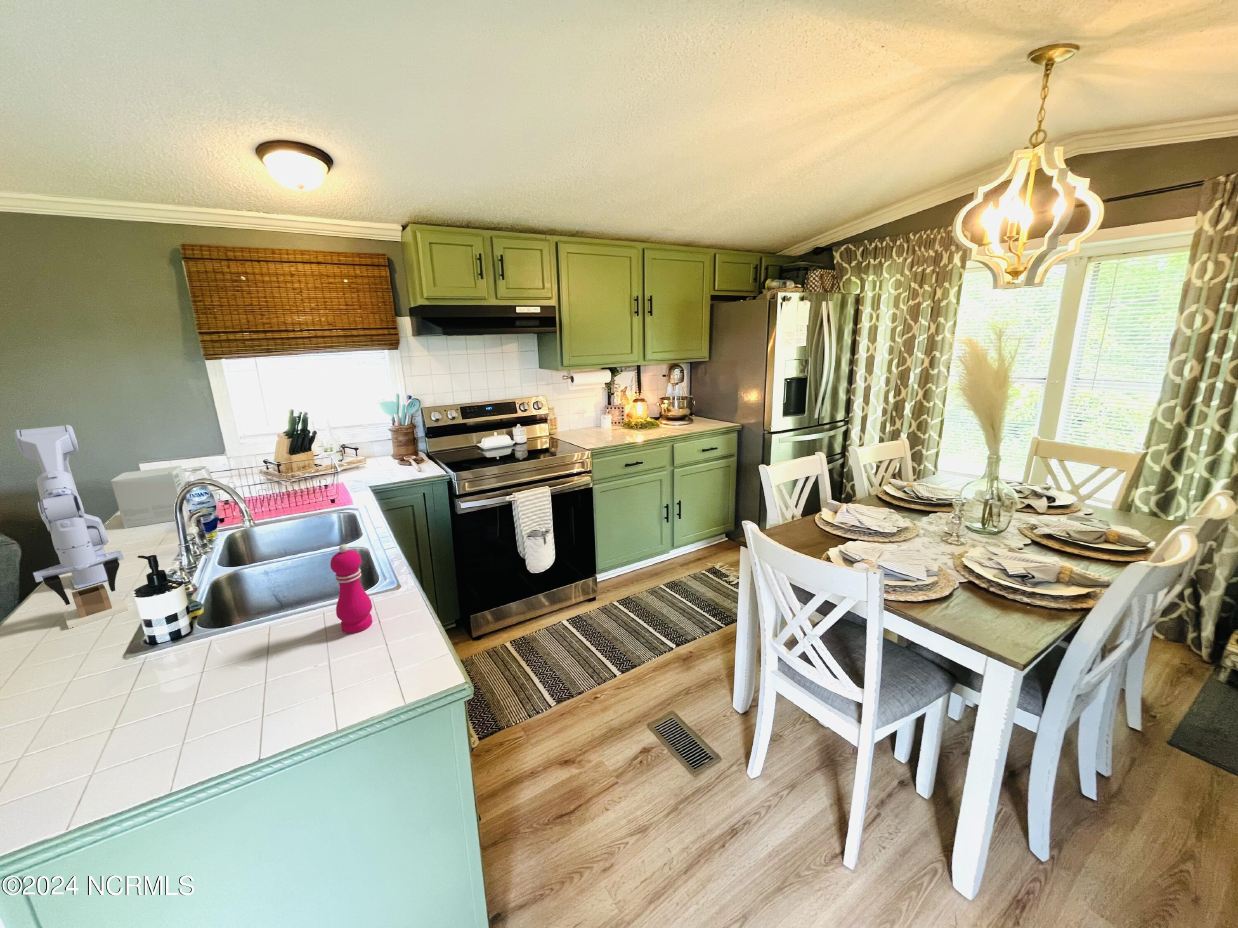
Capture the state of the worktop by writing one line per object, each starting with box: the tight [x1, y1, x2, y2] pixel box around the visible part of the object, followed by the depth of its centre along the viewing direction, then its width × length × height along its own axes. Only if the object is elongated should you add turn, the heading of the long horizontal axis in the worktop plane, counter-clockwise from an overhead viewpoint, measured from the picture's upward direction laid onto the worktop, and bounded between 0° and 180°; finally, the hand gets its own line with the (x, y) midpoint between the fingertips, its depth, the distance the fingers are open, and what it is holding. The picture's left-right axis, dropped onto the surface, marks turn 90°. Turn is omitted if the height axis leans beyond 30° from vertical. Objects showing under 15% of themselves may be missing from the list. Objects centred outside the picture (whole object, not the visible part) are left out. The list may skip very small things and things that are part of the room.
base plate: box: [62, 595, 129, 630], centre depth 120 cm, size 9×10×5 cm
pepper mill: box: [330, 544, 373, 634], centre depth 111 cm, size 7×7×20 cm
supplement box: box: [109, 465, 186, 529], centre depth 183 cm, size 17×13×18 cm
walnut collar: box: [71, 583, 112, 618], centre depth 120 cm, size 5×5×5 cm
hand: (90, 596), depth 120 cm, fingers open, 7 cm apart
